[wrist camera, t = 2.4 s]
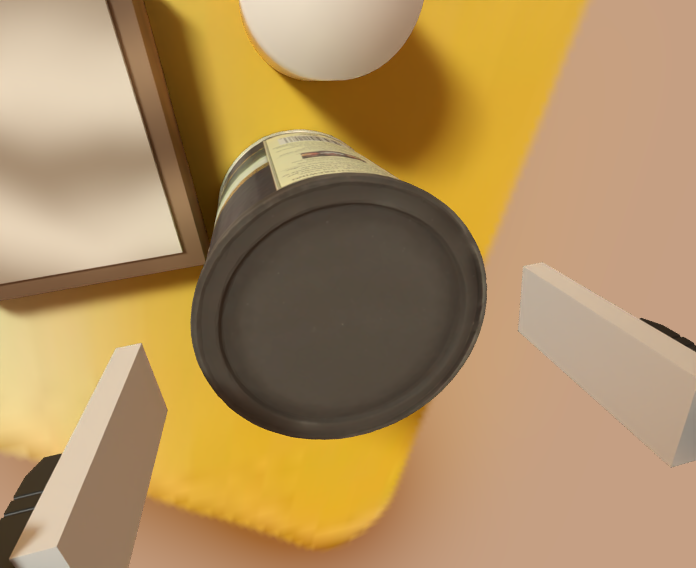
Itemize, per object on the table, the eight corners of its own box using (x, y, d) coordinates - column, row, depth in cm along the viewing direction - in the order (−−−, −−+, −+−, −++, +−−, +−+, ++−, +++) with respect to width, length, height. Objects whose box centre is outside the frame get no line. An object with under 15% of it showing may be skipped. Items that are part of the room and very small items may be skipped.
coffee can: (262, 310, 29) (274, 480, 17) (185, 169, 24) (119, 261, 12) (399, 251, 29) (510, 375, 17) (349, 100, 25) (454, 119, 12)
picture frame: (-204, 0, 18) (-288, -15, 15) (136, -27, 20) (117, -45, 17) (-36, 288, 24) (-74, 315, 22) (210, 245, 26) (206, 265, 24)
